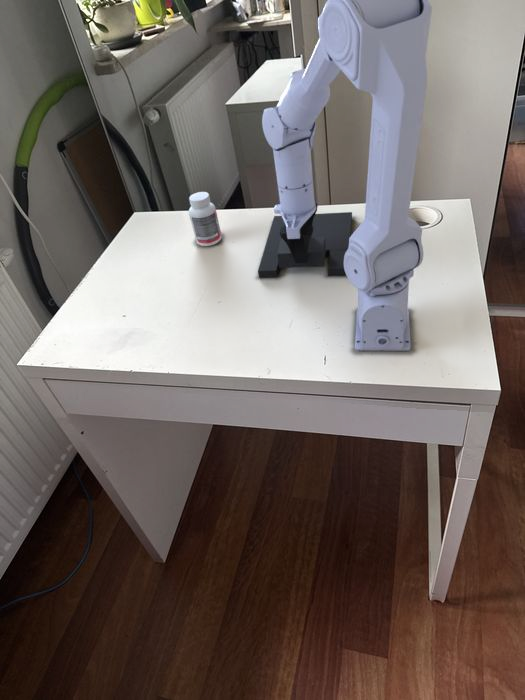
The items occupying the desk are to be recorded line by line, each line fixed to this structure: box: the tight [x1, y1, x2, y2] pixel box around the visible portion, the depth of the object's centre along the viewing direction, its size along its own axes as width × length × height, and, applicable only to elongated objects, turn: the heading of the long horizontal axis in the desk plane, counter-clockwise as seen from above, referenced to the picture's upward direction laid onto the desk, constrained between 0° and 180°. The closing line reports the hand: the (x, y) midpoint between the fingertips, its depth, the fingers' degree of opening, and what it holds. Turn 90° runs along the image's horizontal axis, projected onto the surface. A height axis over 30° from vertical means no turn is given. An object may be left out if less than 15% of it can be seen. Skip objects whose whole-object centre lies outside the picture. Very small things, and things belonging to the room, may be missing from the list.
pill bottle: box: [188, 191, 223, 247], centre depth 105 cm, size 5×5×10 cm
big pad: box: [257, 211, 353, 279], centre depth 100 cm, size 20×16×2 cm
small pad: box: [277, 237, 326, 269], centre depth 94 cm, size 5×8×3 cm, turn 81°
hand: (302, 252), depth 94 cm, fingers closed on small pad, 5 cm apart
